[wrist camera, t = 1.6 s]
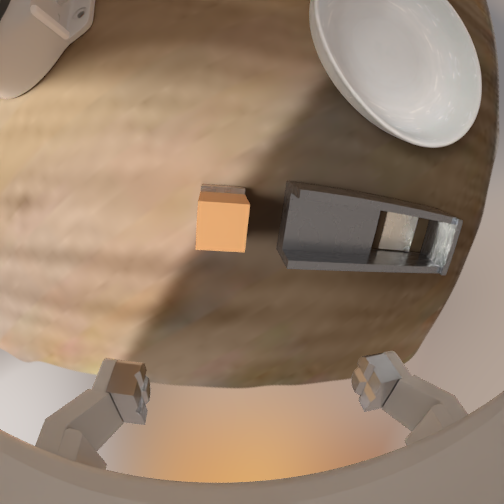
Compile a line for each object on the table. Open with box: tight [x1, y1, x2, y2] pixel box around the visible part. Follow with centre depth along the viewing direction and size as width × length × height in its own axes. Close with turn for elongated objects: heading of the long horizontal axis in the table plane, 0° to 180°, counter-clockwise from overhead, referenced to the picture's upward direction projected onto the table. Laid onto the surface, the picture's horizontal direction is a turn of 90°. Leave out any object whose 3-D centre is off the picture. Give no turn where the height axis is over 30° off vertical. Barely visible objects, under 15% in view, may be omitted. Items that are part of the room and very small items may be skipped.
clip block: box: [196, 191, 250, 252], centre depth 23 cm, size 4×4×4 cm
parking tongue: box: [201, 184, 245, 194], centre depth 25 cm, size 5×4×1 cm
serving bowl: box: [309, 0, 482, 148], centre depth 18 cm, size 21×21×7 cm
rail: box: [277, 181, 463, 275], centre depth 26 cm, size 7×21×5 cm, turn 83°
